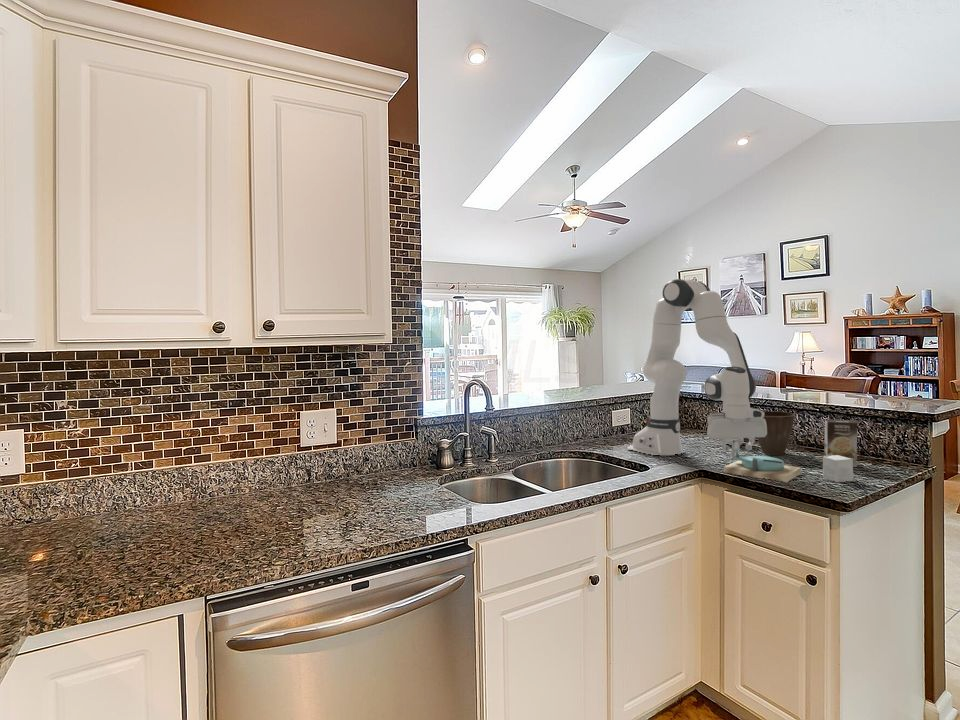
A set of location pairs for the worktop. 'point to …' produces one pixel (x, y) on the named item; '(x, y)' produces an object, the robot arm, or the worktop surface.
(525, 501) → the worktop surface
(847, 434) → the coffee box
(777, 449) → the plant pot
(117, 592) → the worktop surface
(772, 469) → the dial
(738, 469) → the dial base
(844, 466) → the skincare box
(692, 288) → the robot arm
